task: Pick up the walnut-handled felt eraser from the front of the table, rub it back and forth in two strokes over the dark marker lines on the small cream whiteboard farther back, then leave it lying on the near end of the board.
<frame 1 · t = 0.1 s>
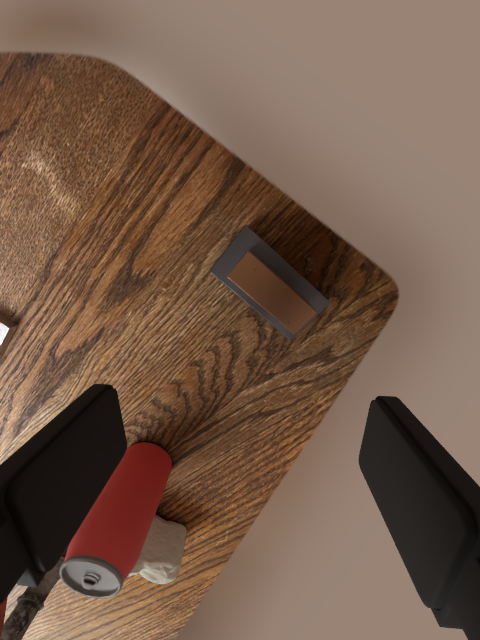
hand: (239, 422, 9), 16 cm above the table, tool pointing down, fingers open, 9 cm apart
eraser: (268, 282, 23), on the table
dark chess piece: (72, 535, 38), on the table
decorative stone: (151, 526, 36), on the table
beer can: (150, 456, 32), on the table
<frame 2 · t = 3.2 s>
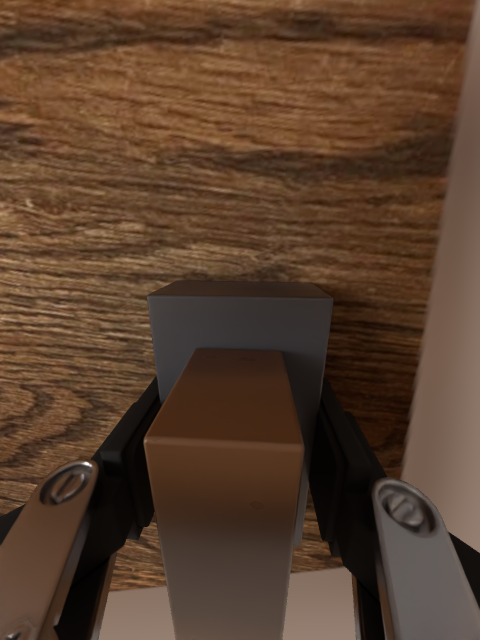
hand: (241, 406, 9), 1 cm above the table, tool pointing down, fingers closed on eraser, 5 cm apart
eraser: (242, 396, 10), on the table, touching gripper
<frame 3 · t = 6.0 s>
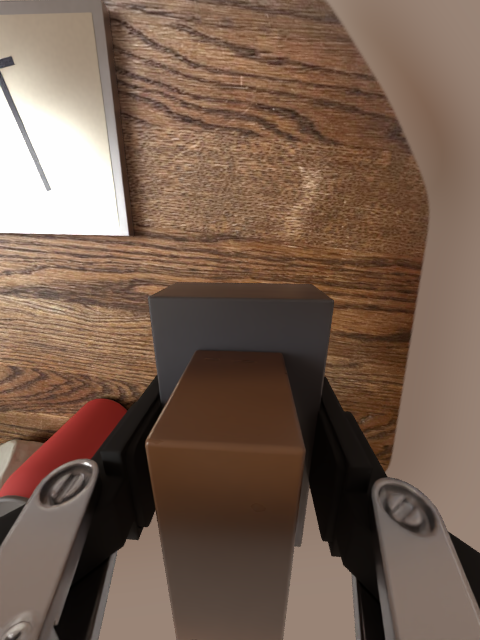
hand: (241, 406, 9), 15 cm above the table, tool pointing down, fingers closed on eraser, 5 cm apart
eraser: (242, 397, 10), point 15 cm above the table, touching gripper
whiteboard: (13, 137, 21), on the table
decorative stone: (37, 456, 33), on the table
beer can: (110, 416, 30), on the table
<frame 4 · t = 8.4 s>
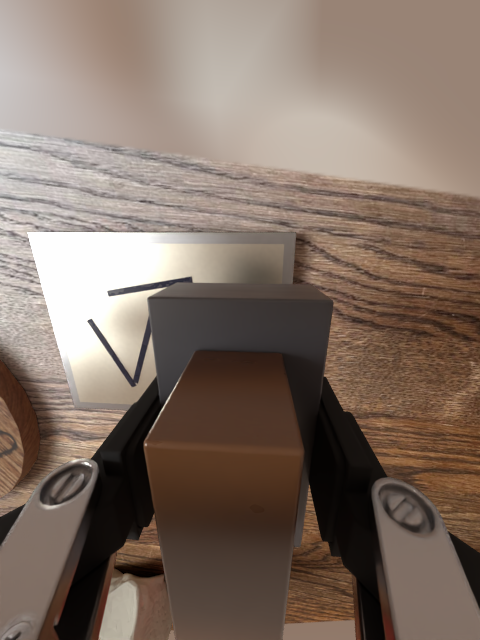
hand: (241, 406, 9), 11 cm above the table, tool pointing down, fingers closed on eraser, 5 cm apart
eraser: (242, 398, 10), point 10 cm above the table, touching gripper
whiteboard: (171, 330, 20), on the table
decorative stone: (140, 577, 33), on the table
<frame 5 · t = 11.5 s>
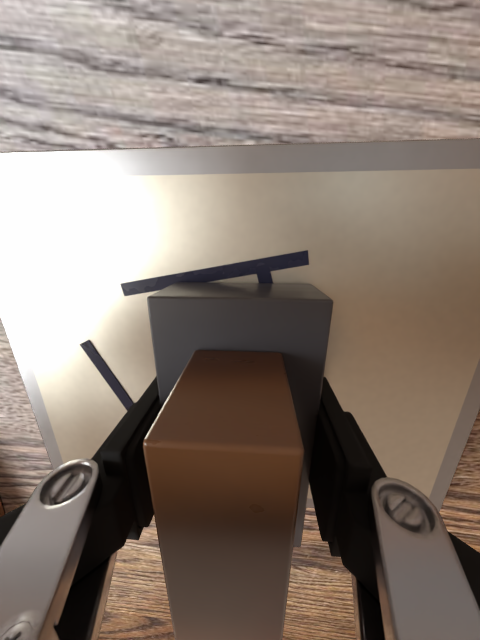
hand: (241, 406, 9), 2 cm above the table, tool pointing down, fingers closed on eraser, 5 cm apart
eraser: (242, 398, 10), point 1 cm above the table, touching gripper
whiteboard: (240, 359, 11), on the table
when the fingers open (2 cm above the table, at t = 13.8 s): eraser stays where it is, resting on whiteboard.
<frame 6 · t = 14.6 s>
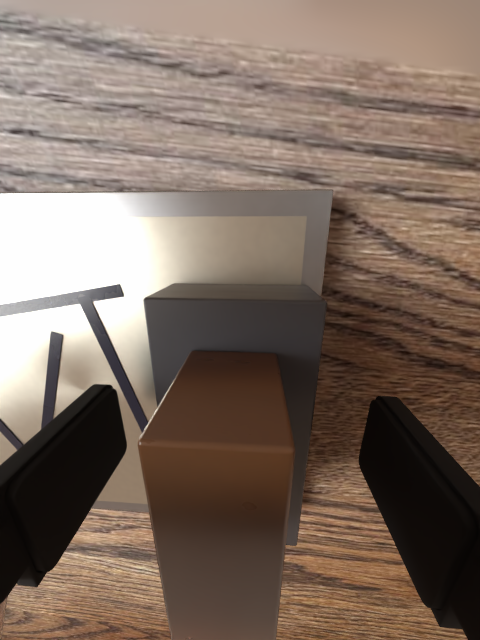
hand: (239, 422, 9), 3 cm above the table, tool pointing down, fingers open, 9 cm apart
eraser: (238, 398, 10), point 1 cm above the table, touching whiteboard
whiteboard: (100, 377, 12), on the table
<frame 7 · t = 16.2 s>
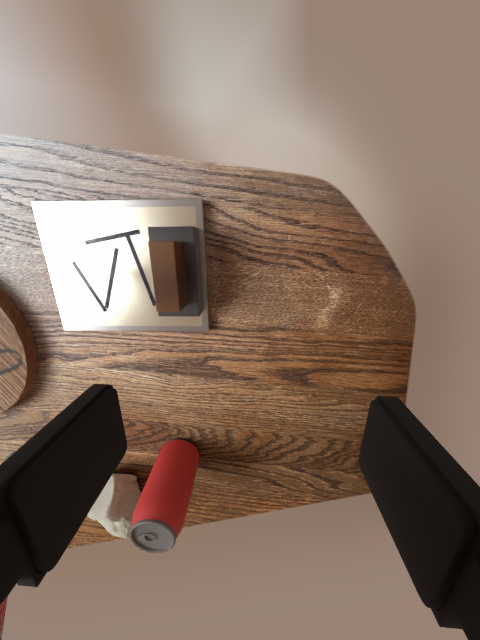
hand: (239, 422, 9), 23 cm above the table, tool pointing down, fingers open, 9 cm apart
eraser: (181, 271, 29), point 1 cm above the table, touching whiteboard
whiteboard: (129, 270, 30), on the table
decorative stone: (119, 483, 42), on the table
beer can: (181, 451, 39), on the table
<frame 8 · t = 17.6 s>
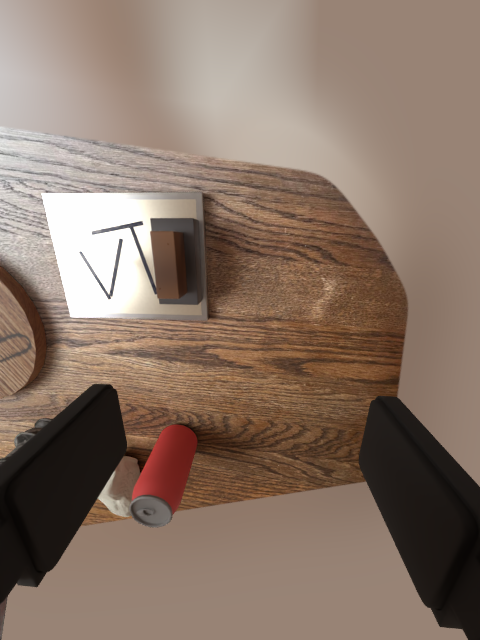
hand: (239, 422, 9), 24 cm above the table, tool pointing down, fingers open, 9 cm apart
eraser: (181, 262, 30), point 1 cm above the table, touching whiteboard
whiteboard: (133, 260, 31), on the table
dark chess piece: (50, 429, 42), on the table
decorative stone: (121, 466, 44), on the table
beer can: (180, 436, 41), on the table
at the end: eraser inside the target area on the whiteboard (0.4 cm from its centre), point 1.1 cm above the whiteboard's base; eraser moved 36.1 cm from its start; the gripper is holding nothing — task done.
